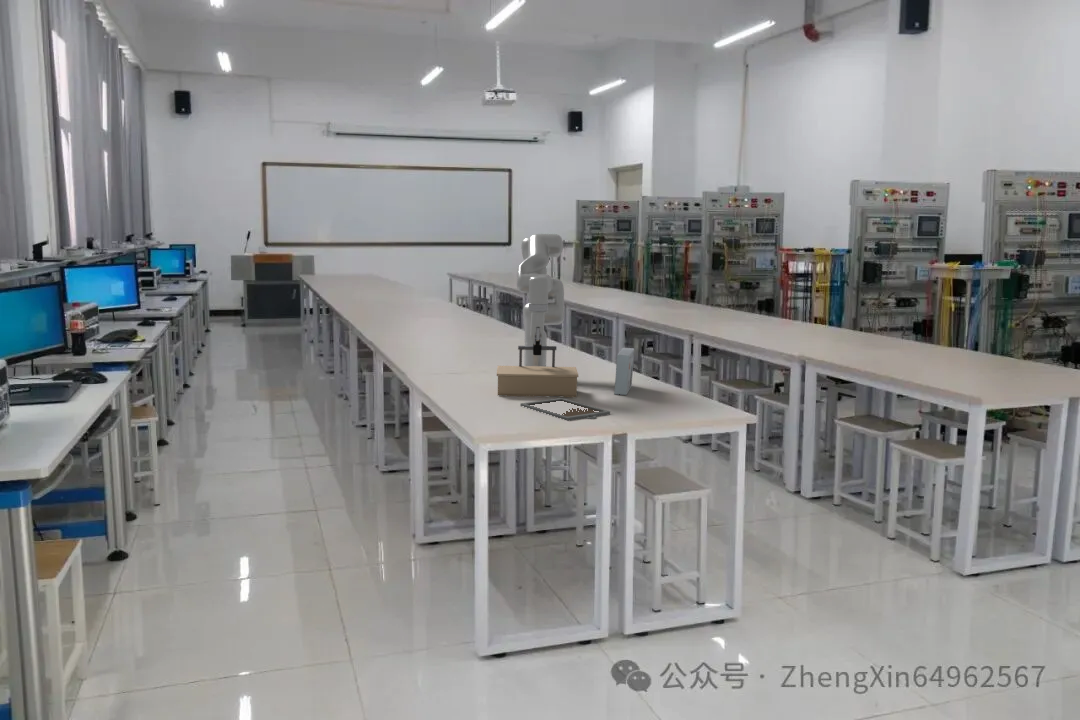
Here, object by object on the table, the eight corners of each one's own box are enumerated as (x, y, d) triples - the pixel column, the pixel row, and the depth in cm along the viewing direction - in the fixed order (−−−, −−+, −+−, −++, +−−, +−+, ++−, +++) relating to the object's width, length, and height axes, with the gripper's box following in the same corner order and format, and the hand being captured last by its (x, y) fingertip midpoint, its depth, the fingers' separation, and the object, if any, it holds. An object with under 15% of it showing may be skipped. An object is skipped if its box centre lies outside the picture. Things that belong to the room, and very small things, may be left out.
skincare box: (627, 395, 332) (629, 355, 329) (613, 394, 333) (615, 354, 330) (633, 385, 352) (634, 347, 349) (619, 385, 353) (621, 346, 350)
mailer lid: (497, 367, 339) (497, 344, 337) (575, 368, 340) (576, 346, 338) (496, 375, 324) (496, 352, 322) (578, 377, 325) (579, 353, 323)
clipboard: (561, 397, 320) (615, 412, 296) (561, 401, 320) (615, 417, 296) (520, 403, 308) (572, 419, 285) (520, 407, 308) (572, 424, 285)
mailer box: (498, 388, 339) (498, 369, 338) (574, 390, 340) (574, 371, 339) (497, 395, 325) (497, 376, 324) (576, 397, 326) (577, 377, 325)
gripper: (528, 305, 342) (527, 350, 345) (528, 310, 326) (527, 358, 330) (547, 305, 342) (546, 351, 345) (548, 310, 326) (547, 358, 330)
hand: (537, 354), depth 337 cm, fingers closed on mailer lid
